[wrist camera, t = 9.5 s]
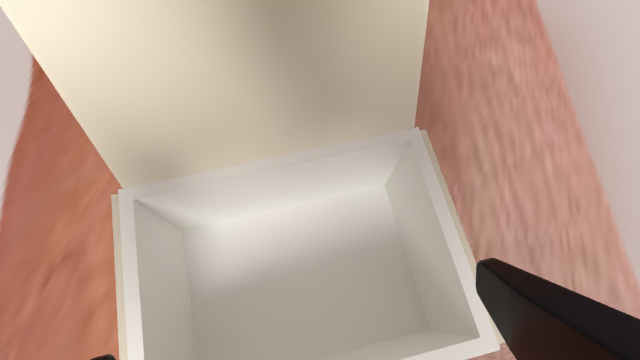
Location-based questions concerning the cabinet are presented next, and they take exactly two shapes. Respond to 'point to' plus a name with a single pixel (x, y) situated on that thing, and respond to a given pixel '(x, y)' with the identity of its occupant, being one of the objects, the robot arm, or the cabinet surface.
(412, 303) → the carton
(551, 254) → the cabinet surface
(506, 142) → the cabinet surface
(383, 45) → the carton flap
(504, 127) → the cabinet surface
